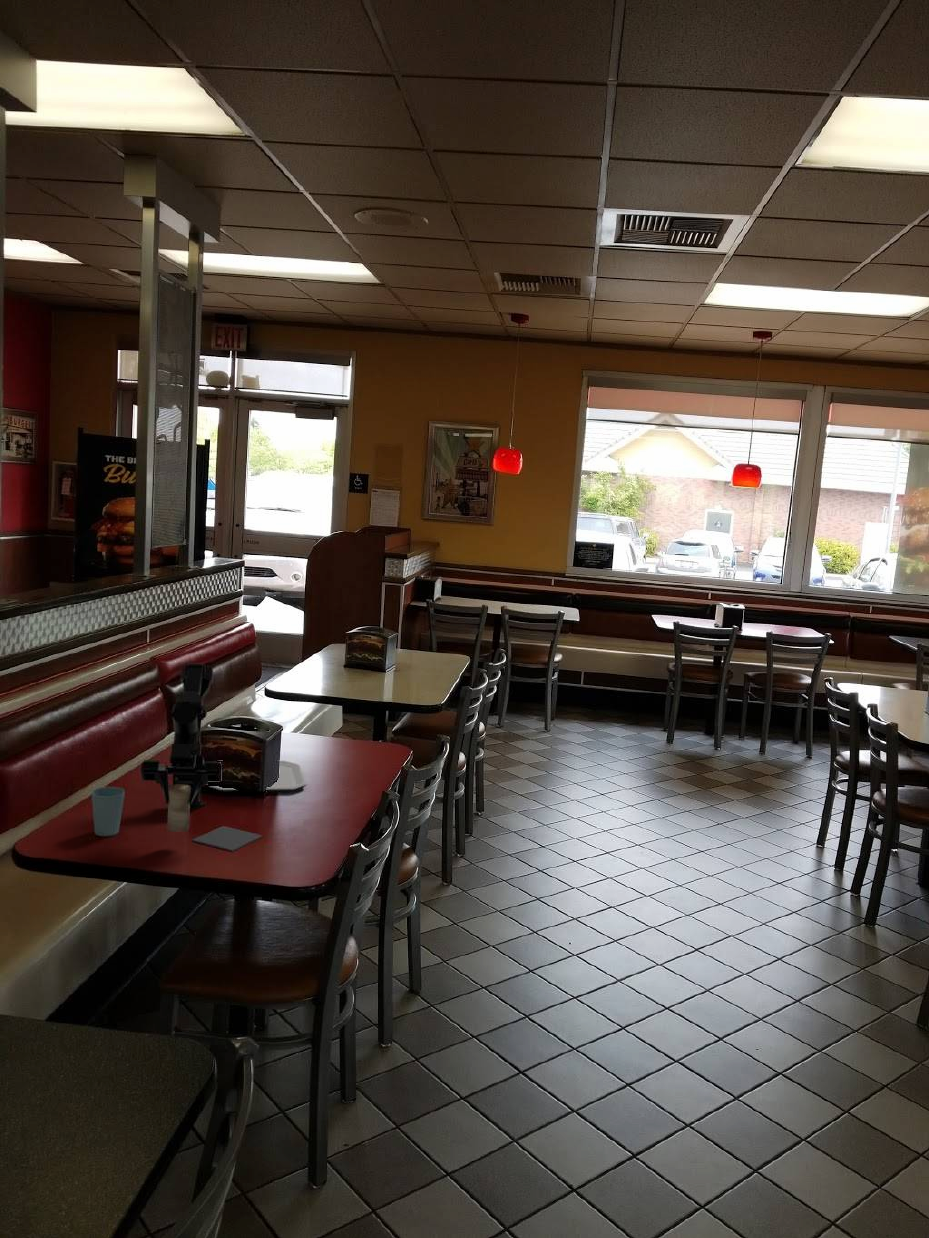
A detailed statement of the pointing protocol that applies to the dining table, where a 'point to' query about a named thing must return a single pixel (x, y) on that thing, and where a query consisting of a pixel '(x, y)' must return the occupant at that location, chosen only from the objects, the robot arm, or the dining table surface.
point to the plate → (281, 779)
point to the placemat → (227, 838)
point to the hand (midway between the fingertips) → (178, 802)
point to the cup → (107, 810)
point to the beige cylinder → (179, 807)
